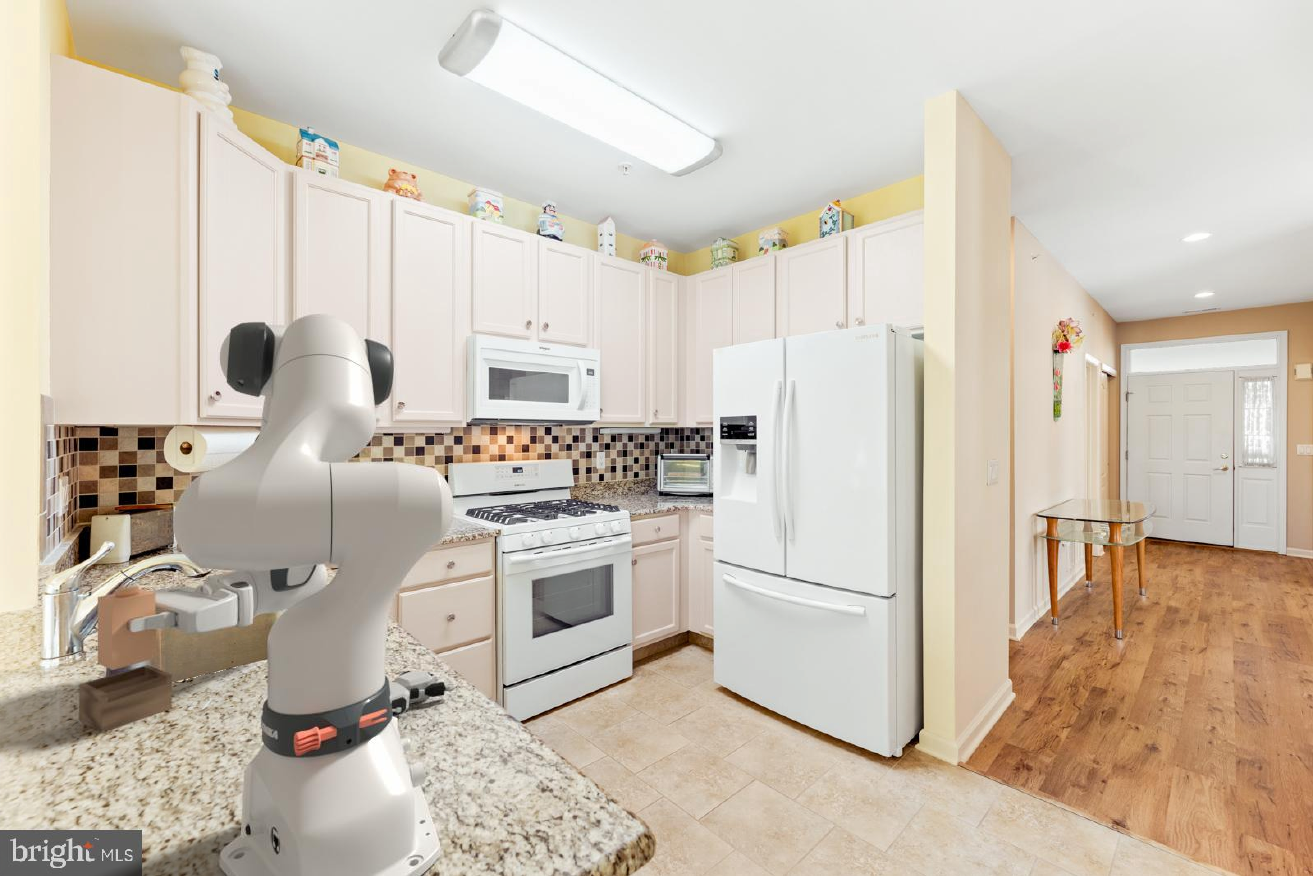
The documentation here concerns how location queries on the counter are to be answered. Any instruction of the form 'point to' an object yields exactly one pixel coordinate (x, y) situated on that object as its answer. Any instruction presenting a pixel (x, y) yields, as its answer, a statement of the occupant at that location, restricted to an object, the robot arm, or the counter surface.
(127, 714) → the brown wooden box
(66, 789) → the counter surface
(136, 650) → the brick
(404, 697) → the robot toy
